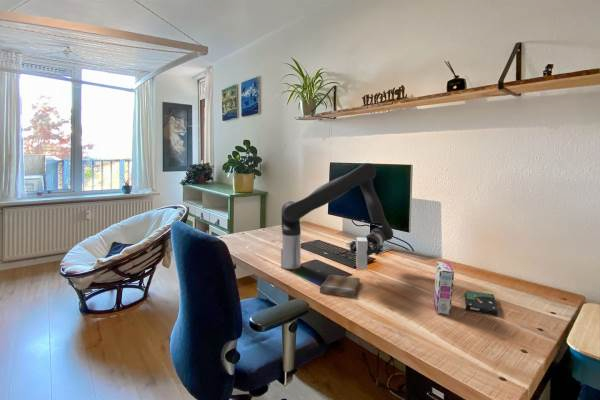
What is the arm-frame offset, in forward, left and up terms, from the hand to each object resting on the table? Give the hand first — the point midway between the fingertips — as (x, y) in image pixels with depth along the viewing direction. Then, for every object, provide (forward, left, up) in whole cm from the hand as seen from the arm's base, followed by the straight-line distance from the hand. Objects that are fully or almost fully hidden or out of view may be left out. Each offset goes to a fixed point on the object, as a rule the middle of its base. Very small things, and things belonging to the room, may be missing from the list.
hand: (360, 252), depth 132 cm
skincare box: (0, +3, -7) cm, 8 cm away
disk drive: (+46, +5, -18) cm, 49 cm away
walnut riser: (-8, +3, -18) cm, 20 cm away
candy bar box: (+32, -3, -18) cm, 36 cm away
